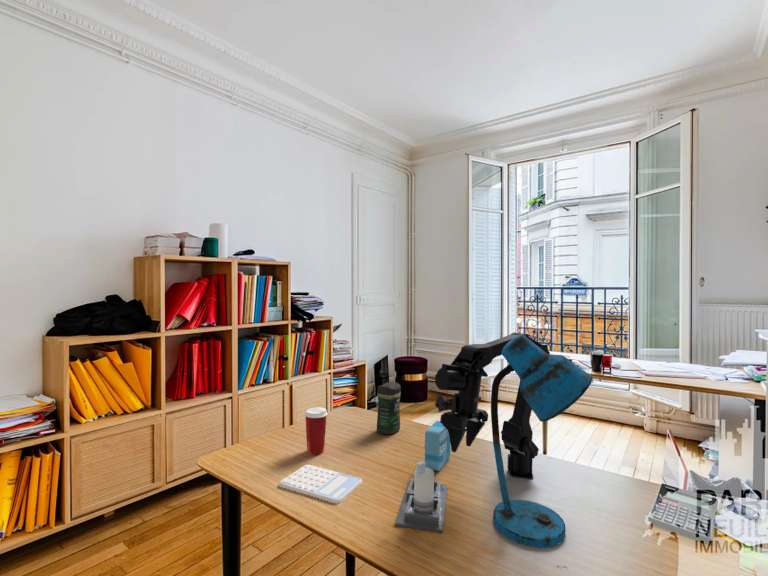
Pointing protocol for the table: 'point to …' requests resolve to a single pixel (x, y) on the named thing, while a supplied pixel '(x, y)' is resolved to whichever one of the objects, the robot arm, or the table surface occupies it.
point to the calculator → (321, 483)
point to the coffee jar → (388, 408)
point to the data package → (437, 446)
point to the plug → (423, 489)
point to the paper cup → (315, 430)
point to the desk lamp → (547, 399)
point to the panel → (421, 519)
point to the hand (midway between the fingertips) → (461, 448)
